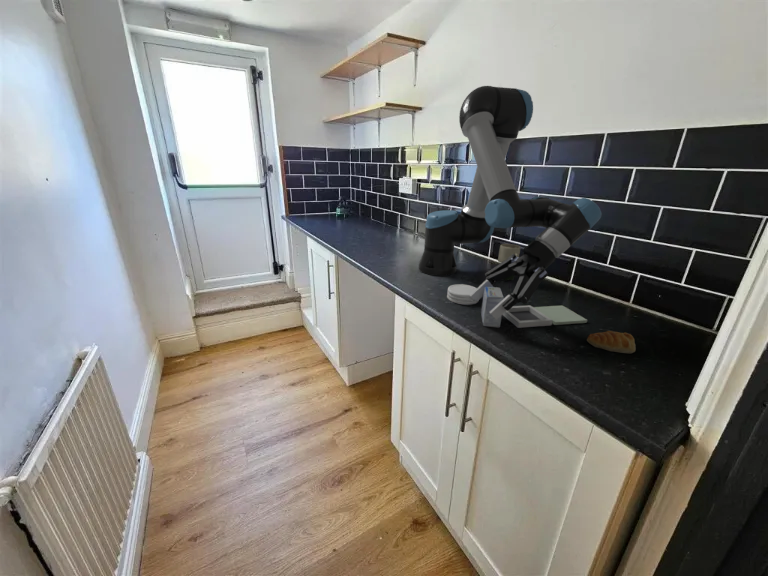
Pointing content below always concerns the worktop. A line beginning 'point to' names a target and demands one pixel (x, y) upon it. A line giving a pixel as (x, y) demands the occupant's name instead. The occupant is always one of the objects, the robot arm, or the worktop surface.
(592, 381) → the worktop surface
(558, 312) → the pad
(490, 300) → the medicine box
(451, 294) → the coaster
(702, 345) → the worktop surface
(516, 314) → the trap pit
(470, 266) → the worktop surface
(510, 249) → the character mug
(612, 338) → the pastry
